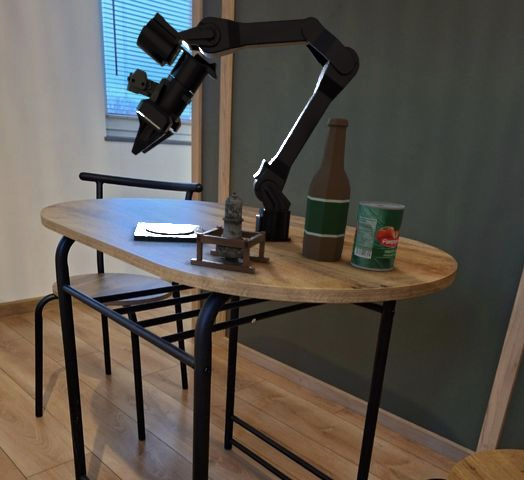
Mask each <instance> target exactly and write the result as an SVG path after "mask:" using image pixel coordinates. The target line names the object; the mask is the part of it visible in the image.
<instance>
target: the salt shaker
mask: <svg viewBox="0 0 524 480" xmlns="http://www.w3.org/2000/svg"><path fill="white" fill-rule="evenodd" d="M231 193H232V195H230V196H228V197H227V198H226V199H225V200H224V201H225V202H224V216H223V217H222V218H221V219H222V221H223V228H224V232H223V235H222V237H225V238H232V239H240V240H245V238H242V230H243V222H244V221H245V219H244V218H243V204H244V203H243V199H242V198H241V197H239V196H238V195H237V191H236V190H235V189H234V190H233V191H232V192H231ZM217 250H218V252H219V253H220V255H221V256H220V257H219V258H218V259H216V260H215V262H221V263H228V264H234V265H241V266H243V259H240V258H239V257H242V256H243V255H244V248H237V247H230V246H222V245H217Z"/></svg>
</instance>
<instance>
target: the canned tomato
mask: <svg viewBox="0 0 524 480" xmlns="http://www.w3.org/2000/svg"><path fill="white" fill-rule="evenodd" d="M358 205H359V206H358V211H357V218H356V225H355V231H354V239H353V245H352V251H351V258H350V259H351V260H350V262H349V263H350V265H351V266H353V267H355V268H357V269H360V270H366V271H373V272H389V271H392V270H394V266H395V261H396V257H397V251H398V246H399V241H400V235H401V231H402V229H401V228H402V225H403V224H402V223H403V219H404V212H405V209H406V206H405V205H403V204H400V203H399V204H398V203H394V202H386V201H376V200H375V201H373V200H362V201H359V204H358Z"/></svg>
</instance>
